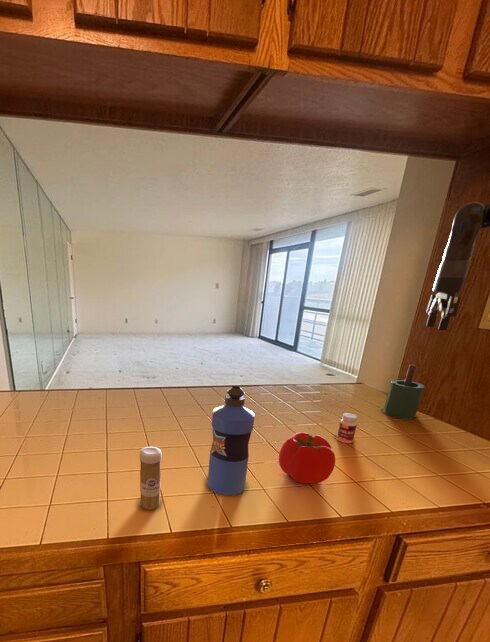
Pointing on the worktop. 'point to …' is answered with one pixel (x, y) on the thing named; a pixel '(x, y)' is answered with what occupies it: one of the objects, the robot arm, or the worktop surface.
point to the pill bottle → (347, 428)
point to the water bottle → (230, 444)
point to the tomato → (307, 458)
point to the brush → (410, 375)
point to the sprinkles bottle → (150, 477)
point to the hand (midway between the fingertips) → (435, 328)
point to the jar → (403, 399)
